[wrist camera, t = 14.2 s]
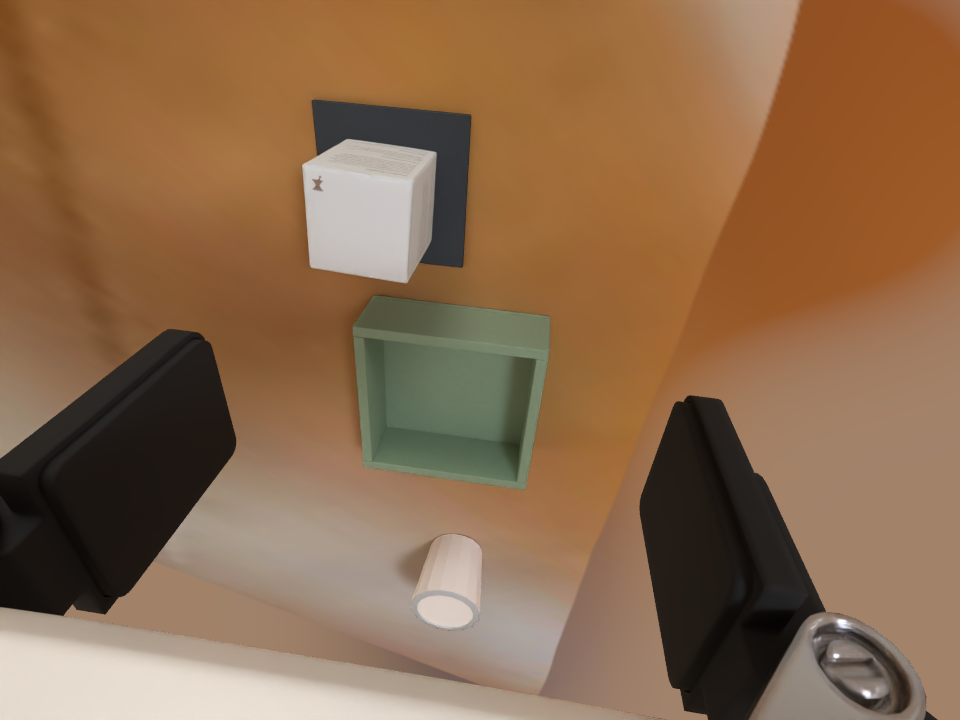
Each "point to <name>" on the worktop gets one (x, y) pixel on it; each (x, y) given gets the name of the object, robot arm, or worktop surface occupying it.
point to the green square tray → (449, 389)
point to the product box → (369, 209)
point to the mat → (419, 132)
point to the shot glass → (450, 584)
